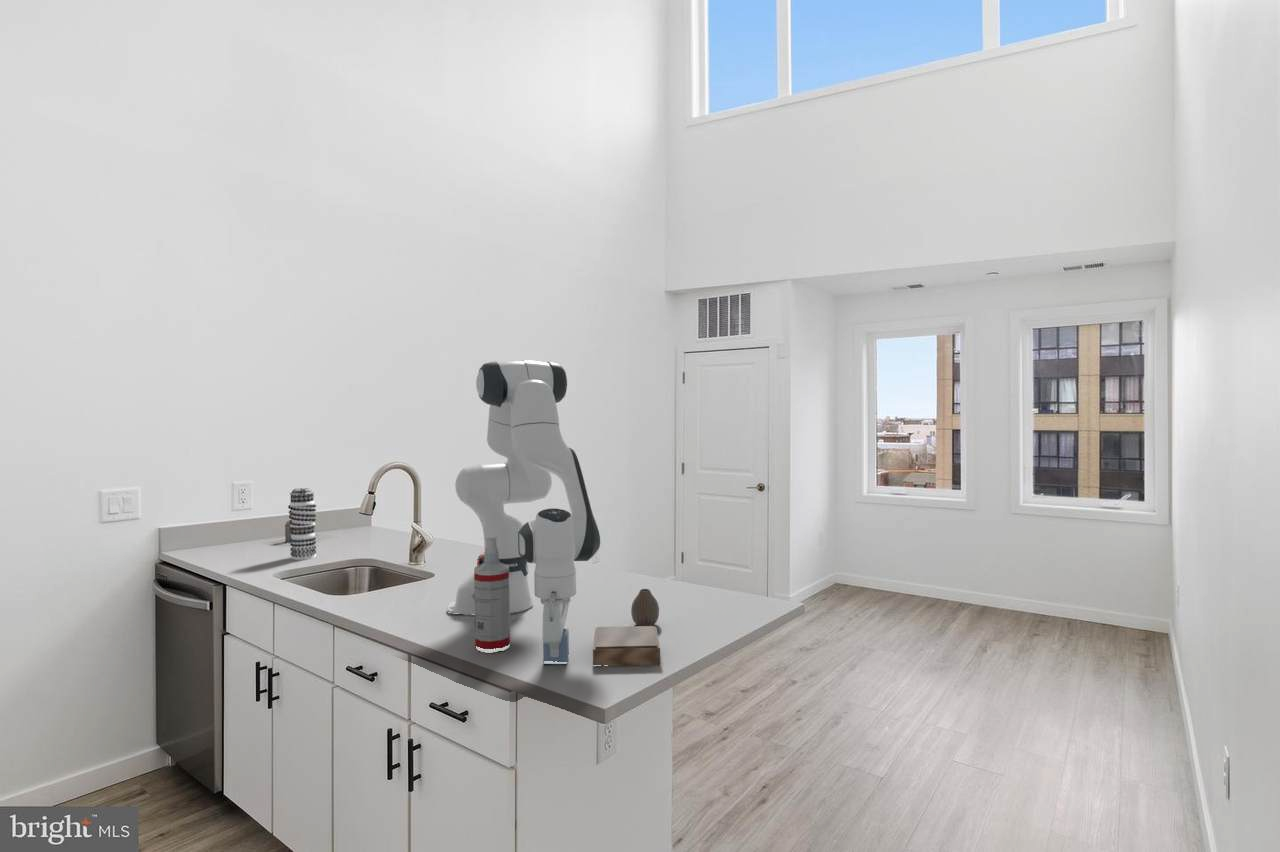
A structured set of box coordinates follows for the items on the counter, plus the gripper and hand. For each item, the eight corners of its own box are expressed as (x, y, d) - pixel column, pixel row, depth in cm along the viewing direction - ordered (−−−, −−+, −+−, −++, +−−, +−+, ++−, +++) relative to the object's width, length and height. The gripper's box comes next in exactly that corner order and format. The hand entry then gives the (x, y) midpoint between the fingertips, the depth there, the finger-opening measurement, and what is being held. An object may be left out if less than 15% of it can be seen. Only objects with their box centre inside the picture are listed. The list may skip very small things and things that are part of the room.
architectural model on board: (290, 543, 283) (289, 519, 283) (285, 543, 285) (284, 519, 284) (315, 539, 293) (314, 515, 293) (310, 538, 294) (310, 515, 294)
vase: (639, 631, 169) (639, 595, 169) (626, 623, 175) (626, 588, 175) (664, 626, 172) (664, 591, 172) (650, 619, 178) (650, 585, 178)
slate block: (543, 664, 147) (543, 636, 147) (545, 656, 152) (545, 629, 152) (567, 664, 148) (566, 636, 147) (568, 655, 153) (568, 628, 152)
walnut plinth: (593, 666, 146) (592, 647, 146) (595, 643, 160) (595, 626, 160) (660, 665, 147) (660, 646, 147) (656, 642, 161) (656, 625, 161)
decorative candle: (303, 560, 250) (301, 490, 249) (283, 559, 253) (281, 489, 252) (323, 555, 258) (321, 487, 257) (303, 553, 261) (302, 487, 261)
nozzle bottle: (478, 655, 154) (476, 541, 153) (472, 644, 160) (470, 536, 160) (514, 650, 157) (512, 538, 156) (506, 639, 163) (504, 533, 163)
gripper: (566, 599, 139) (567, 668, 140) (573, 574, 160) (573, 634, 160) (534, 600, 139) (535, 669, 139) (545, 575, 159) (546, 635, 160)
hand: (556, 650), depth 150 cm, fingers closed on slate block, 5 cm apart
